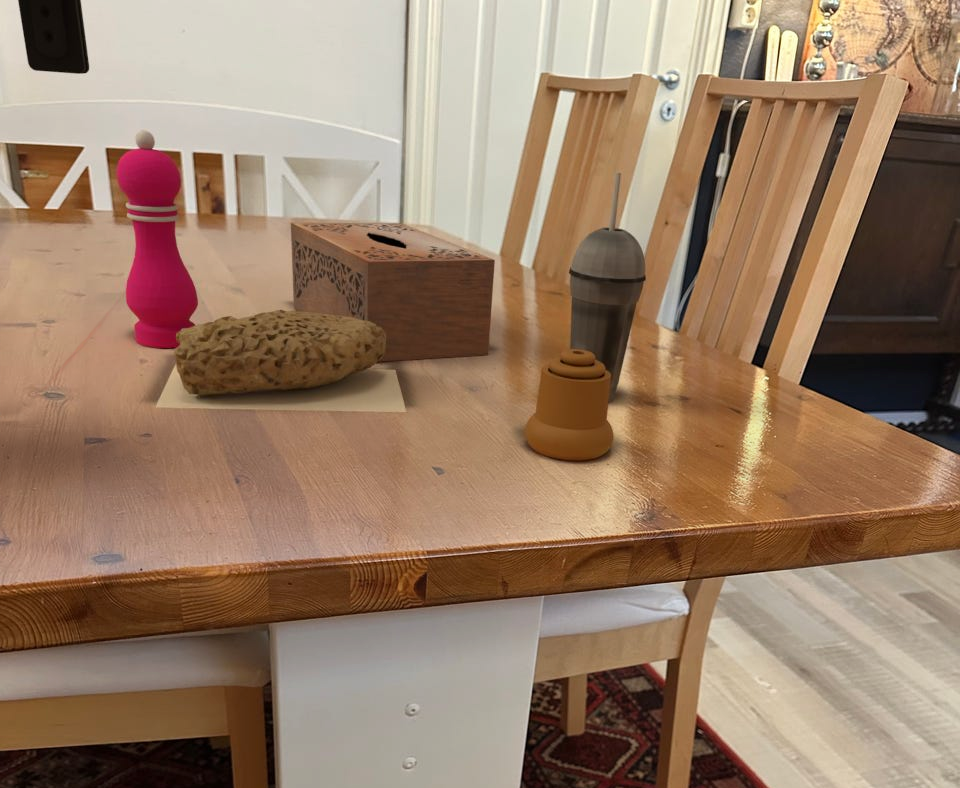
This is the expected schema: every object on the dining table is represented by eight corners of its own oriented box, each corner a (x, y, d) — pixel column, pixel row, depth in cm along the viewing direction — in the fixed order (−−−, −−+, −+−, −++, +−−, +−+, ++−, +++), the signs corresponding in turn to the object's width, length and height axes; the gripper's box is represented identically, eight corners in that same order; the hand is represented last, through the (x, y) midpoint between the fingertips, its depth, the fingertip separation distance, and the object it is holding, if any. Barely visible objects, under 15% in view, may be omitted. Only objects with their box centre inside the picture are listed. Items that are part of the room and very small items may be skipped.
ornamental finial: (526, 429, 82) (610, 437, 82) (521, 458, 76) (612, 467, 76) (534, 337, 78) (623, 345, 78) (530, 360, 72) (626, 368, 72)
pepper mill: (135, 332, 102) (110, 125, 92) (203, 333, 104) (185, 130, 93) (127, 349, 96) (98, 130, 86) (199, 350, 98) (179, 135, 87)
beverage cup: (559, 405, 89) (585, 174, 79) (551, 384, 96) (574, 167, 85) (633, 409, 90) (669, 180, 79) (621, 388, 96) (652, 173, 86)
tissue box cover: (488, 354, 104) (494, 260, 99) (367, 362, 98) (367, 261, 93) (399, 304, 123) (401, 223, 118) (293, 308, 117) (290, 222, 112)
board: (155, 409, 81) (154, 407, 81) (175, 366, 93) (175, 364, 93) (406, 414, 85) (406, 411, 85) (395, 371, 96) (395, 369, 96)
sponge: (191, 423, 82) (409, 373, 85) (163, 332, 79) (390, 283, 82) (195, 405, 94) (386, 361, 97) (170, 324, 90) (369, 282, 94)
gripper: (-33, -308, 53) (27, 67, 63) (-141, -424, 41) (-46, 67, 50) (104, -290, 54) (143, 75, 64) (41, -397, 42) (100, 78, 51)
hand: (60, 71), depth 57 cm, fingers closed
